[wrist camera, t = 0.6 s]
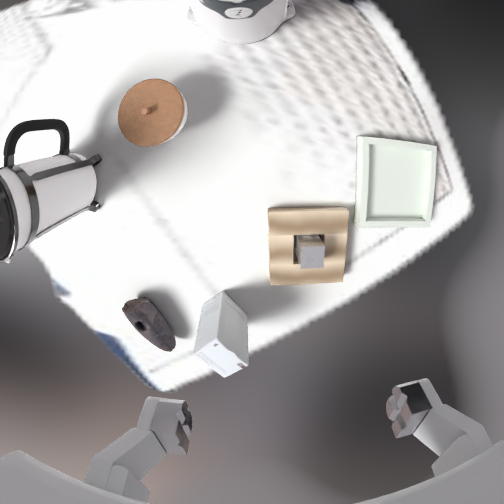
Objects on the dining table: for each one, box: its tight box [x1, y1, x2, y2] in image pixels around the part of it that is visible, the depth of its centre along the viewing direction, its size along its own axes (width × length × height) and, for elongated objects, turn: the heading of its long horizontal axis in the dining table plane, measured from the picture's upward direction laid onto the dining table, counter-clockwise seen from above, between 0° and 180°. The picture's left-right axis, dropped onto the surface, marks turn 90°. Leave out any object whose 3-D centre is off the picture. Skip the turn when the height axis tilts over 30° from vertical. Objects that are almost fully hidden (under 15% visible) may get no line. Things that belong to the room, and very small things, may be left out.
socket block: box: [268, 207, 349, 286], centre depth 49 cm, size 14×14×2 cm
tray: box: [354, 136, 437, 228], centre depth 44 cm, size 16×16×3 cm
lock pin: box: [296, 234, 325, 269], centre depth 48 cm, size 4×4×6 cm
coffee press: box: [0, 119, 102, 263], centre depth 31 cm, size 17×16×30 cm
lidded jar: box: [118, 79, 188, 147], centre depth 37 cm, size 11×11×9 cm
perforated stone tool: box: [122, 298, 176, 351], centre depth 55 cm, size 15×5×7 cm, turn 28°
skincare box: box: [193, 291, 249, 377], centre depth 50 cm, size 8×6×15 cm
